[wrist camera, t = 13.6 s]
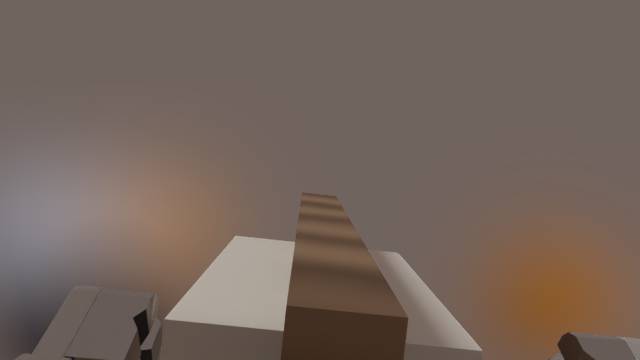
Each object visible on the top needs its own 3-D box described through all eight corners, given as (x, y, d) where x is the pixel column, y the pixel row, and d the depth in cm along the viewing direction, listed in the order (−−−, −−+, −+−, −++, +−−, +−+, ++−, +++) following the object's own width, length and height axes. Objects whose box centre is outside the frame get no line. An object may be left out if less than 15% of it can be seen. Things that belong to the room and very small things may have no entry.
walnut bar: (393, 435, 12) (408, 317, 12) (273, 424, 12) (286, 305, 12) (332, 229, 44) (335, 196, 44) (298, 226, 44) (302, 192, 44)
